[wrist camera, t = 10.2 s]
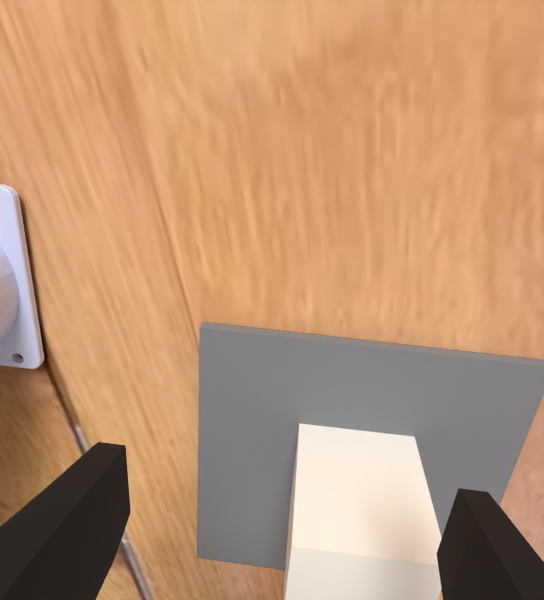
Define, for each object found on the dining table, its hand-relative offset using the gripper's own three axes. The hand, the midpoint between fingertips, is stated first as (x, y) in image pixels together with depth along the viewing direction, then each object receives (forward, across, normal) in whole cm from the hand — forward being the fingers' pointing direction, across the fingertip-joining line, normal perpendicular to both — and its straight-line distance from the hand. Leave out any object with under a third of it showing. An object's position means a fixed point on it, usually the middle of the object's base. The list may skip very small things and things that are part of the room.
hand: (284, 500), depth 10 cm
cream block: (+9, -3, +8) cm, 12 cm away
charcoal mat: (+9, -3, +8) cm, 13 cm away
